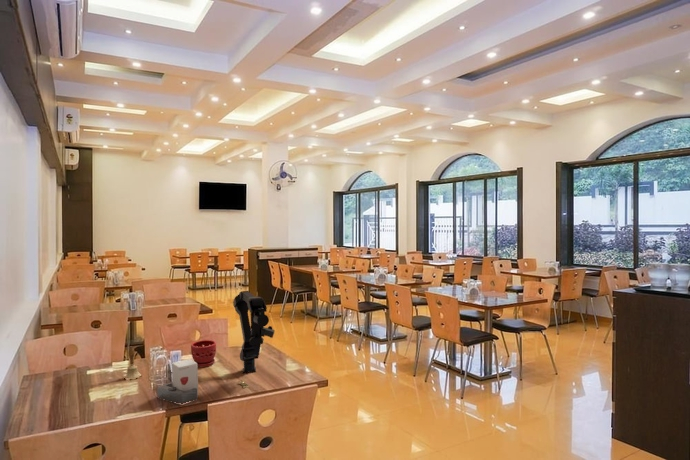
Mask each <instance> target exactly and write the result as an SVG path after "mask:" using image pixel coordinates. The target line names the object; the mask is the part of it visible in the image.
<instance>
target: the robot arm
mask: <svg viewBox="0 0 690 460" xmlns="http://www.w3.org/2000/svg"><path fill="white" fill-rule="evenodd" d="M233 298H234V299H233V301H232V304H233V307H234V310H235V312H236V314H237V315H238V316H239V320H240V326H241V334H242V340H243V343H242V345H241V350H240V353H239V359H240V361H242V362H243V367H242V373H243V374H246V373H254V372H257V368H256V359H257V360H258V359H259V356H260V352H261V345H263V344H264V342H265V341H264V340H265V338H264V337H269V338H270V339H273V338H274V334H275V332H276V331H275V329H274V328H273V326H272V325H268V324H269V323H270V319H269V316H268V315H267V314H265V313H266V312H267V309H268V307H267V304H266V301H265V300H264V298H263V297H261V296H255V295H254V294H252V292H251V291H249V290H241V291H240V292H239V293H238V294H237V295H236V296H235V297H233ZM249 313H250V318H249ZM267 325H268V327H266V326H267Z"/></svg>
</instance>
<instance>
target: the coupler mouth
mask: <svg viewBox="0 0 690 460" xmlns="http://www.w3.org/2000/svg"><path fill="white" fill-rule="evenodd" d="M158 397H159V398H161V399H160V400H163V399H165V400H164V401H166V400H168V401H167V402H169V401H172V402H176V403H181V404H183V403H186V402H189V401H193V400H195V401H197V400H198V396H197V388H193V389H190V390H188V391H182V390H179V389H176V387H172V381H170V382H167V383H165V384H162V385H159V386H157V398H158ZM159 398H158V399H159ZM196 399H197V400H196ZM172 402H171V403H172ZM193 402H194V401H193Z"/></svg>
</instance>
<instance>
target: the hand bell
mask: <svg viewBox="0 0 690 460" xmlns="http://www.w3.org/2000/svg"><path fill="white" fill-rule="evenodd" d="M134 356H135V350H134V348H133V346H132V345H130V346H129V349H128V357H129V359H130V360H129V366H128V367H127V372H126V375H125V376H124V377H125V378H136V377H139V376H141V375H142V374H141V373H140V372H139V369H138V365H135V361H134V358H135V357H134Z"/></svg>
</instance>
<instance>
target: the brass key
mask: <svg viewBox="0 0 690 460" xmlns="http://www.w3.org/2000/svg"><path fill="white" fill-rule="evenodd" d="M237 384H238V385H241V386H242V388H243V389H247V388H249V384H247V383H245V381H244V380H240V381H238V382H237Z"/></svg>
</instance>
